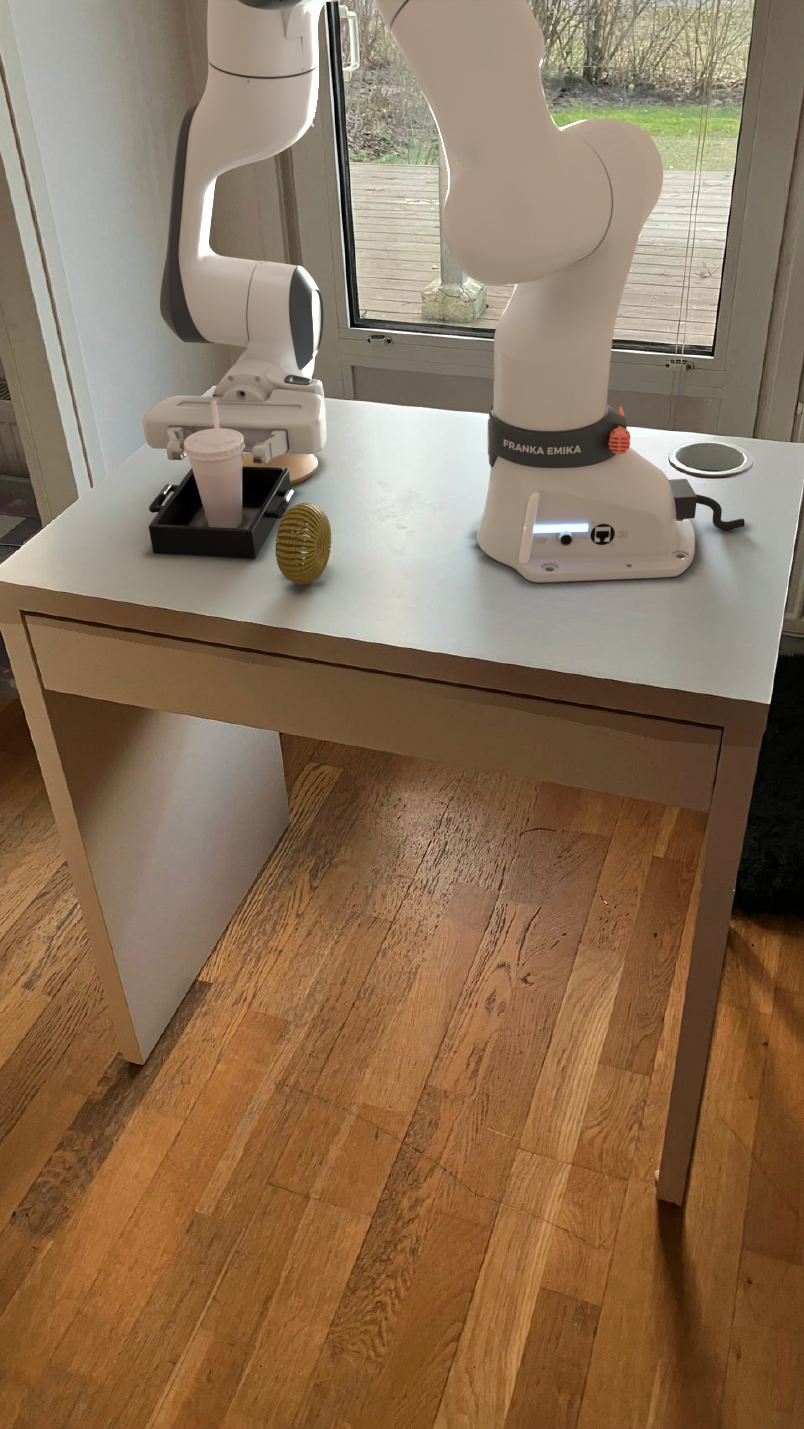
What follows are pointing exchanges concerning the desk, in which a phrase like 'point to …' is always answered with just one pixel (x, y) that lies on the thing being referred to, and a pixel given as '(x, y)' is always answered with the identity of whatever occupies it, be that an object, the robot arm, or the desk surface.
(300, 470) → the cork pad
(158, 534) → the pan
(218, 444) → the smoothie
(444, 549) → the desk surface
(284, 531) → the sculpture
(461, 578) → the desk surface
